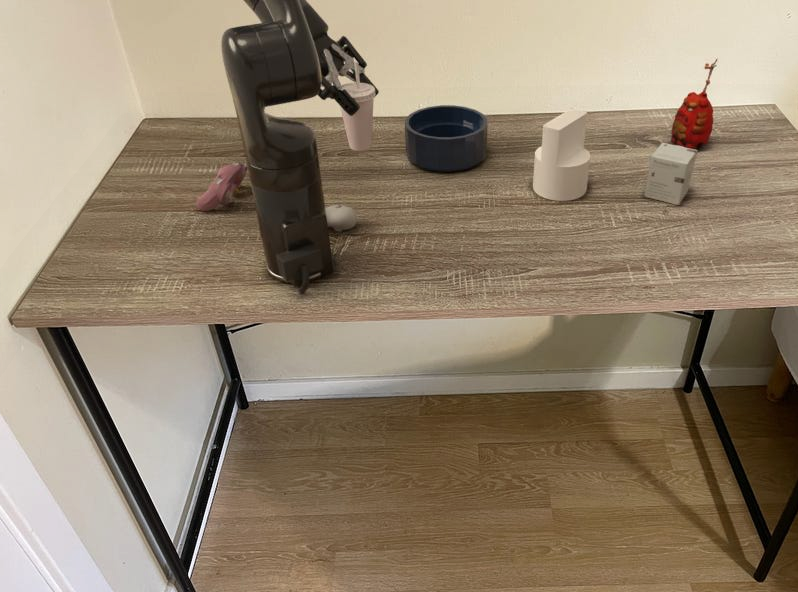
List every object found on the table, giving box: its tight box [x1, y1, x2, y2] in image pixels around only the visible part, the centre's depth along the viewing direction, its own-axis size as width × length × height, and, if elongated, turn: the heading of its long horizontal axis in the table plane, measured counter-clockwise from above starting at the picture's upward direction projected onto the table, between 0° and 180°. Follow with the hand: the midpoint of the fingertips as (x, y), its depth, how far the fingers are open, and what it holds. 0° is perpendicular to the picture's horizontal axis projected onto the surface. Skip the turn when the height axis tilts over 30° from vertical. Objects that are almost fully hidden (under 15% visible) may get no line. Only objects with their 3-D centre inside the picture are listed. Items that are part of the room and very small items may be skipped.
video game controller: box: [195, 160, 248, 212], centre depth 123 cm, size 10×5×7 cm, turn 168°
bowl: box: [404, 104, 488, 173], centre depth 135 cm, size 14×14×6 cm
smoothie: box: [339, 60, 377, 152], centre depth 124 cm, size 6×6×14 cm
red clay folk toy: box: [670, 57, 719, 150], centre depth 136 cm, size 8×7×15 cm
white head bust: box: [325, 204, 358, 233], centre depth 117 cm, size 4×8×5 cm
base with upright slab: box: [532, 107, 591, 202], centre depth 124 cm, size 9×9×12 cm
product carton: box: [643, 142, 698, 206], centre depth 124 cm, size 6×6×7 cm
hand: (365, 104), depth 124 cm, fingers closed on smoothie, 6 cm apart
